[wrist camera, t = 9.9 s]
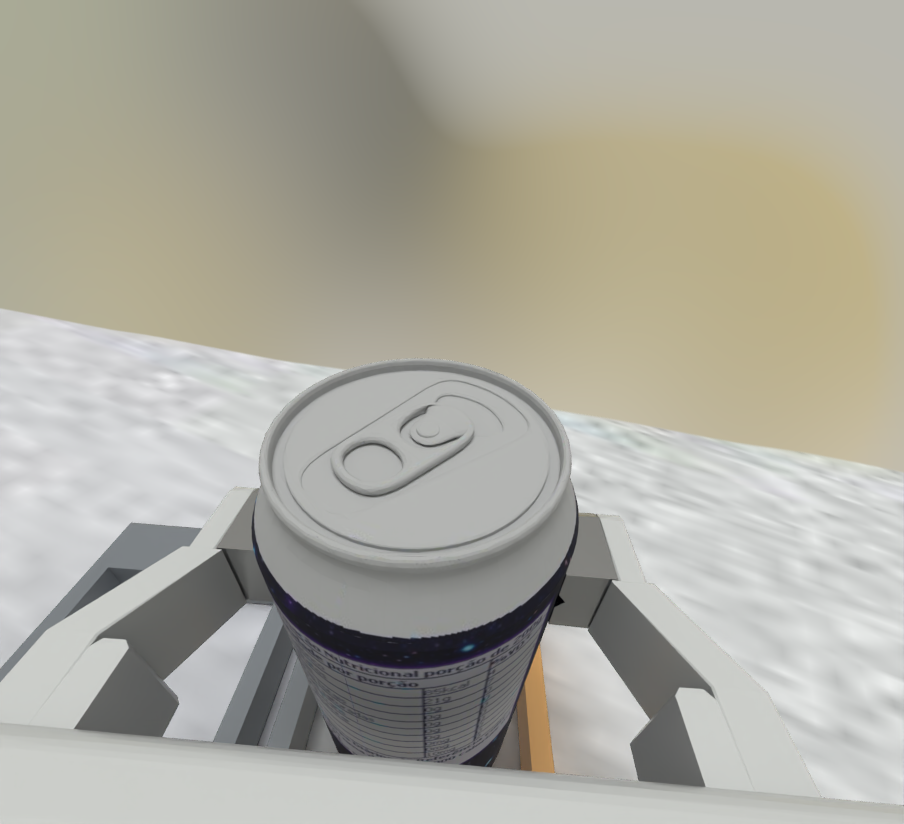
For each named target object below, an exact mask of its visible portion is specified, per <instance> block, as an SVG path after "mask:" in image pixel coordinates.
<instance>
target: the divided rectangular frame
mask: <svg viewBox="0 0 904 824" xmlns="http://www.w3.org/2000/svg"><path fill="white" fill-rule="evenodd" d="M201 530H202V528H190V527H178V526H165V525H153V524H141V523H130V524H129V526H128V527H127V528H126V529H125V530H124V531H123V532H122V533H121V535H120V536H119V537H118V538H117V539H116V540H115V541H114V542H113V543H112V545H111V546H110V547H109V548H108V549H107V550H106V551H105V552H104V554H103V555H102V556H101V557H100V558H99V559H98V560H97V561H96V562H95V564H94V565H93V566H92V567H91V568H90V569H89V570H88V571H87V572H86V574H85V575H84V576H83V577H82V578H81V579H80V580H79V581H78V583H77V584H76V585H75V586H74V587H73V588H72V589H71V590H70V591H69V593H68V594H67V595H66V596H65V597H64V598H63V599H62V600H61V601H60V603H59V604H58V605H57V606H56V607H55V608H54V609H53V610H52V612H51V613H50V614H49V615H48V616H47V617H46V618H45V619H44V620H43V622H42V623H41V624H40V625H39V626H38V627H37V628H36V629H35V631H34V632H33V633H32V634H31V635H30V636H29V637H28V638H27V639H26V641H25V642H24V643H23V644H22V645H21V646H20V647H19V648H18V649H17V651H16V652H15V653H14V654H13V655H12V656H11V657H10V658H9V660H8V661H7V662H6V663H5V664H4V665H3V666H2V667H1V668H0V682H1V681H2V680H3V679H4V677H5V676H6V675H7V674H8V673H9V672H10V671H11V670H12V668H13V667H14V666H15V665H16V664H17V663H18V662H19V661H20V659H21V658H22V657H23V656H24V655H25V654H26V653H27V651H28V650H29V649H30V648H31V647H32V646H33V645H34V644H35V642H36V641H37V640H38V639H39V638H40V637H41V636H42V635H43V633H44V632H45V631H46V630H47V629H49V628H51V627H52V626H54V625H56V624H57V623H59V622H60V621H62V620H64V619H65V618H67V617H69V616H70V615H72V614H73V613H75V612H77V611H78V610H80V609H82V608H83V607H85V606H86V605H88V604H90V603H91V602H93V601H95V600H96V599H98V598H99V597H101V596H103V595H104V594H106V593H107V592H109V591H111V590H112V589H114V588H116V587H117V586H119V585H120V584H122V583H124V582H125V581H127V580H129V579H130V578H132V577H133V576H135V575H137V574H138V573H140V572H142V571H143V570H145V569H146V568H148V567H150V566H151V565H153V564H155V563H156V562H158V561H159V560H161V559H163V558H164V557H166V556H167V555H169V554H171V553H172V552H174V551H176V550H177V549H179V548H180V547H182V546H187V547H189V546H190V545H191V544H192V542H193V541H194V539H195V538H196V537H197V535H198V534H199V532H200V531H201ZM246 601H247V603H256V604H268V605H273V606H272V609H271V611H270V613H269V615H268V618H267V620H266V622H265V624H264V627H263V629H262V631H261V634H260V636H259V638H258V640H257V643H256V645H255V647H254V650H253V652H252V654H251V656H250V659H249V661H248V663H247V665H246V668H245V670H244V672H243V675H242V677H241V679H240V681H239V684H238V686H237V688H236V691H235V693H234V695H233V697H232V700H231V702H230V704H229V706H228V709H227V711H226V713H225V716H224V718H223V720H222V722H221V725H220V727H219V729H218V731H217V734H216V736H215V738H214V741H213V742H219V743H230V744H241V745H252V746H257V744H258V742H259V739H260V736H261V733H262V731H263V728H264V725H265V722H266V720H267V717H268V714H269V711H270V709H271V706H272V703H273V700H274V698H275V695H276V692H277V689H278V687H279V684H280V681H281V679H282V676H283V673H284V670H285V668H286V665H287V662H288V659H289V657H290V654H291V651H292V648H293V645H292V643H291V641H290V638H289V636H288V634H287V631H286V629H285V627H284V625H283V622H282V620H281V618H280V615H279V613H278V611H277V608H276V606H275V604H274V602H271V601H253V600H246ZM317 705H318V704H317V701H316V699H315V697H314V694H313V692H312V690H311V687H310V685H309V683H308V680H307V678H306V676H305V673H304V671H303V669H302V666H301V664H300V662H299V659H298V658H297V661H296V663H295V666H294V669H293V672H292V675H291V678H290V681H289V684H288V686H287V689H286V692H285V695H284V698H283V701H282V704H281V706H280V709H279V712H278V715H277V718H276V721H275V724H274V727H273V729H272V732H271V735H270V738H269V741H268V744H267V747H274V748H285V749H296V750H305V747H306V744H307V740H308V737H309V733H310V730H311V726H312V723H313V719H314V716H315V712H316V709H317ZM517 715H518V731H519V747H520V762H521V770H525V771H536V772H547V773H555V772H554V763H553V754H552V746H551V737H550V728H549V720H548V711H547V703H546V694H545V685H544V677H543V668H542V659H541V651H540V644H539V646H538V649H537V652H536V654H535V657H534V660H533V662H532V665H531V668H530V670H529V673H528V676H527V678H526V681H525V684H524V686H523V689H522V691H521V694H520V697H519V699H518V702H517Z"/></svg>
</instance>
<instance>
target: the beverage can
mask: <svg viewBox="0 0 904 824" xmlns="http://www.w3.org/2000/svg"><path fill="white" fill-rule="evenodd" d="M571 465H572V463H571V451H570V445H569V440H568V438H567V435H566V432H565V430H564V427H563V425H562V424H561V422H560V421H559V419H558V418H557V416H556V415H555V413H554V412H553V411H552V410H551V409H550V408H549V407H548V405H547V404H546V403H545V402H544V401H543V400H542V399H541V398H539V397H538V396H537V395H536V394H534V393H533V392H532V391H530V390H529V389H528V388H526V387H524V386H523V385H521V384H520V383H518V382H516V381H514V380H512V379H510V378H508V377H506V376H504V375H502V374H499V373H497V372H494V371H491V370H489V369H486V368H482V367H479V366H475V365H471V364H467V363H462V362H456V361H450V360H441V359H423V358H412V359H396V360H388V361H380V362H375V363H370V364H365V365H361V366H358V367H355V368H352V369H348V370H345V371H342V372H339V373H337V374H334V375H332V376H329V377H327V378H326V379H324V380H322V381H320V382H318V383H316V384H314V385H312V386H311V387H309V388H308V389H306V390H305V391H303V392H302V393H300V394H299V395H298V396H296V397H295V398H294V399H293V400H292V401H291V402H289V403H288V404H287V405H286V406H285V407H284V408H283V410H282V411H281V412H280V413H279V414H278V415H277V417H276V418H275V419H274V420H273V422H272V424H271V426H270V427H269V429H268V431H267V432H266V434H265V437H264V440H263V443H262V447H261V450H260V457H259V476H260V482H261V486H260V488H259V491H258V494H257V498H256V501H255V505H254V510H253V515H252V526H251V529H252V543H253V550H254V553H255V557H256V561H257V563H258V566H259V568H260V571H261V573H262V576H263V578H264V580H265V583H266V585H267V587H268V590H269V592H270V594H271V597H272V599H273V601H274V604H275V606H276V608H277V611H278V613H279V615H280V618H281V620H282V622H283V625H284V627H285V629H286V631H287V634H288V636H289V638H290V641H291V643H292V645H293V648H294V650H295V652H296V655H297V657H298V659H299V662H300V664H301V666H302V669H303V671H304V673H305V676H306V678H307V680H308V683H309V685H310V687H311V690H312V692H313V694H314V697H315V699H316V701H317V704H318V706H319V708H320V711H321V713H322V715H323V718H324V720H325V722H326V725H327V727H328V729H329V732H330V734H331V736H332V738H333V741H334V743H335V745H336V748H337V750H338V752H339V754H350V755H361V756H372V757H383V758H394V759H405V760H416V761H426V762H437V763H448V764H459V765H470V766H481V767H491V766H492V764H493V763H494V761H495V759H496V757H497V755H498V752H499V750H500V747H501V745H502V742H503V739H504V737H505V734H506V731H507V729H508V726H509V723H510V721H511V718H512V715H513V713H514V710H515V707H516V705H517V702H518V699H519V697H520V694H521V691H522V689H523V686H524V684H525V681H526V678H527V676H528V673H529V670H530V668H531V665H532V662H533V660H534V657H535V654H536V652H537V649H538V646H539V644H540V641H541V638H542V636H543V633H544V630H545V628H546V625H547V622H548V620H549V617H550V614H551V612H552V609H553V606H554V604H555V601H556V598H557V596H558V593H559V591H560V588H561V585H562V583H563V580H564V577H565V575H566V572H567V569H568V567H569V564H570V561H571V559H572V556H573V553H574V550H575V546H576V542H577V537H578V528H579V513H578V505H577V500H576V496H575V492H574V488H573V485H572V482H571V479H570V474H571Z"/></svg>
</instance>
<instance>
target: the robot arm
mask: <svg viewBox="0 0 904 824" xmlns="http://www.w3.org/2000/svg"><path fill="white" fill-rule="evenodd" d="M258 491H259V488H247V487H235V488H233V489H232V490H230V491H229V492H228V493H227V495H226V496H225V498H224V499H223V500H222V502H221V503H220V504H219V506H218V507H217V509H216V510H215V511H214V513H213V514H212V516H211V517H210V518H209V520H208V521H207V523H206V524H205V525H204V527H203V528H202V530H201V531H200V532H199V534H198V535H197V537H196V538H195V539H194V541H193V542H192V544H191V545H190V546H189V547H187V546H182V547H180V548H179V549H177V550H176V551H174V552H172V553H171V554H169V555H167V556H166V557H164V558H163V559H161V560H159V561H158V562H156V563H155V564H153V565H151V566H150V567H148V568H146V569H145V570H143V571H142V572H140V573H138V574H137V575H135V576H133V577H132V578H130V579H129V580H127V581H125V582H124V583H122V584H120V585H119V586H117V587H116V588H114V589H112V590H111V591H109V592H107V593H106V594H104V595H103V596H101V597H99V598H98V599H96V600H95V601H93V602H91V603H90V604H88V605H86V606H85V607H83V608H82V609H80V610H78V611H77V612H75V613H73V614H72V615H70V616H69V617H67V618H65V619H64V620H62V621H60V622H59V623H57V624H56V625H54V626H52V627H51V628H49V629H47V630H46V631H45V632H44V633H43V635H42V636H41V637H40V638H39V639H38V640H37V641H36V642H35V644H34V645H33V646H32V647H31V648H30V649H29V650H28V651H27V653H26V654H25V655H24V656H23V657H22V658H21V659H20V661H19V662H18V663H17V664H16V665H15V666H14V667H13V668H12V670H11V671H10V672H9V673H8V674H7V675H6V676H5V677H4V679H3V680H2V681H1V682H0V824H904V805H896V804H885V803H874V802H863V801H852V800H841V799H830V798H822V796H821V794H820V792H819V790H818V788H817V786H816V785H815V783H814V781H813V779H812V777H811V775H810V773H809V771H808V769H807V767H806V765H805V763H804V761H803V759H802V757H801V755H800V754H799V752H798V750H797V748H796V746H795V744H794V742H793V740H792V738H791V736H790V734H789V732H788V730H787V728H786V726H785V724H784V722H783V721H782V719H781V717H780V715H779V713H778V711H777V709H776V707H775V705H774V703H773V701H772V699H771V697H770V695H769V693H768V692H767V691H766V690H765V689H763V688H762V687H761V686H760V685H759V684H758V683H757V682H756V681H755V680H754V679H753V678H752V677H751V676H750V675H749V674H748V673H747V672H746V671H745V670H744V669H743V668H741V667H740V666H739V665H738V664H737V663H736V662H735V661H734V660H733V659H732V658H731V657H730V656H729V655H728V654H727V653H726V652H725V651H724V650H723V649H722V648H721V647H720V646H718V645H717V644H716V643H715V642H714V641H713V640H712V639H711V638H710V637H709V636H708V635H707V634H706V633H705V632H704V631H703V630H702V629H701V628H700V627H699V626H698V625H696V624H695V623H694V622H693V621H692V620H691V619H690V618H689V617H688V616H687V615H686V614H685V613H684V612H683V611H682V610H681V609H680V608H679V607H678V606H677V605H676V604H675V603H673V602H672V601H671V600H670V599H669V598H668V597H667V596H666V595H665V594H664V593H663V592H662V591H661V590H660V589H659V588H658V587H657V586H656V585H655V584H651V583H646V580H645V577H644V575H643V572H642V569H641V567H640V564H639V561H638V559H637V556H636V554H635V551H634V548H633V546H632V543H631V540H630V538H629V535H628V532H627V530H626V527H625V525H624V522H623V520H622V518H621V517H620V516H615V515H602V514H591V513H579V528H578V537H577V542H576V546H575V550H574V553H573V556H572V559H571V561H570V564H569V567H568V569H567V572H566V575H565V577H564V580H563V583H562V585H561V588H560V591H559V593H558V596H557V598H556V601H555V604H554V606H553V609H552V612H551V614H550V617H549V620H548V622H549V624H553V625H562V626H571V627H580V628H589V629H588V631H589V633H590V634H591V636H592V637H593V639H594V640H595V641H596V643H597V644H598V646H599V647H600V649H601V650H602V651H603V653H604V654H605V656H606V657H607V659H608V660H609V661H610V663H611V664H612V666H613V667H614V669H615V670H616V671H617V673H618V674H619V676H620V677H621V679H622V680H623V681H624V683H625V684H626V686H627V687H628V689H629V690H630V692H631V693H632V694H633V696H634V697H635V699H636V700H637V702H638V703H639V704H640V706H641V707H642V709H643V710H644V712H645V713H646V714H647V716H648V717H649V719H650V721H649V722H648V723H647V724H646V725H645V726H644V727H643V729H642V730H641V731H640V732H639V733H638V734H637V735H636V736H635V738H634V739H633V740H632V742H631V743H630V746H631V750H632V755H633V759H634V763H635V767H636V771H637V776H638V780H639V781H634V780H623V779H612V778H601V777H590V776H579V775H568V774H557V773H547V772H536V771H525V770H514V769H503V768H492V767H481V766H470V765H459V764H448V763H437V762H426V761H416V760H405V759H394V758H383V757H372V756H361V755H350V754H339V753H328V752H317V751H306V750H296V749H285V748H274V747H263V746H252V745H241V744H230V743H219V742H208V741H197V740H187V739H176V738H165V737H162V736H163V734H164V732H165V730H166V728H167V726H168V725H169V723H170V721H171V719H172V717H173V715H174V713H175V711H176V709H177V707H178V705H179V701H178V697H177V695H176V694H175V693H174V692H173V691H172V690H171V689H170V688H169V687H168V685H167V684H166V683H165V682H164V681H163V680H164V679H165V678H167V677H168V676H169V675H170V674H171V673H172V672H173V671H174V670H175V669H176V668H177V667H178V666H179V665H180V664H182V663H183V662H184V661H185V660H186V659H187V658H188V657H189V656H190V655H191V654H192V653H193V652H194V651H195V650H197V649H198V648H199V647H200V646H201V645H202V644H203V643H204V642H205V641H206V640H207V639H208V638H209V637H210V636H212V635H213V634H214V633H215V632H216V631H217V630H218V629H219V628H220V627H221V626H222V625H223V624H224V623H225V622H227V621H228V620H229V619H230V618H231V617H232V616H233V615H234V614H235V613H236V612H237V611H238V610H239V609H240V608H242V607H243V606H244V605H245V604H246V603H247V601H246V600H253V601H271V602H274V601H273V599H272V597H271V594H270V592H269V590H268V587H267V585H266V583H265V580H264V578H263V576H262V573H261V571H260V568H259V566H258V563H257V561H256V557H255V553H254V550H253V543H252V529H251V526H252V515H253V510H254V505H255V501H256V498H257V494H258Z"/></svg>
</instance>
